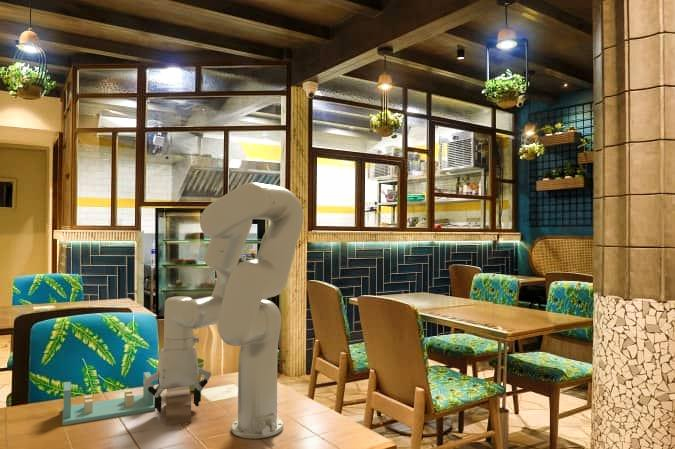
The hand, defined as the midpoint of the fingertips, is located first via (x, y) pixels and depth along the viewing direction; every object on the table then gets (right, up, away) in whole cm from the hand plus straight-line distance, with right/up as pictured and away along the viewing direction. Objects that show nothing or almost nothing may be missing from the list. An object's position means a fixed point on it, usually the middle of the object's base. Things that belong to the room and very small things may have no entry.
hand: (177, 407), depth 132 cm
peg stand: (-19, -1, +2) cm, 19 cm away
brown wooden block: (0, -2, 0) cm, 2 cm away
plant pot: (-3, -2, +20) cm, 20 cm away
